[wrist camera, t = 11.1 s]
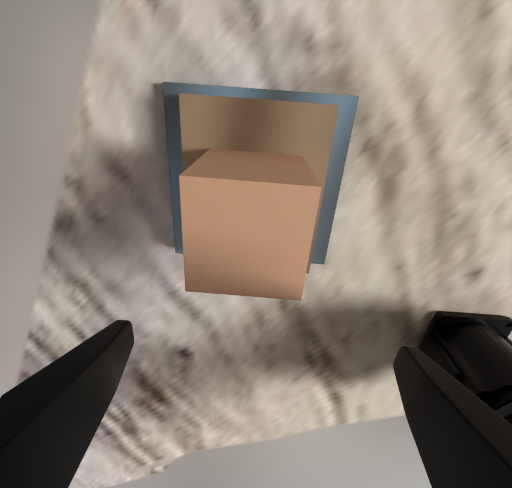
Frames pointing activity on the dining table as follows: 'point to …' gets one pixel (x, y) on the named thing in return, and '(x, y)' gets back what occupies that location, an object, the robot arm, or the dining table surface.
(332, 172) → the foundation block
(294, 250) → the terracotta cube
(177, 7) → the dining table surface
